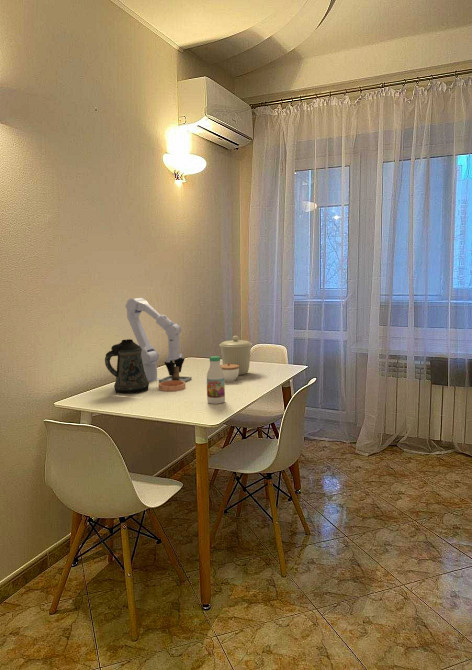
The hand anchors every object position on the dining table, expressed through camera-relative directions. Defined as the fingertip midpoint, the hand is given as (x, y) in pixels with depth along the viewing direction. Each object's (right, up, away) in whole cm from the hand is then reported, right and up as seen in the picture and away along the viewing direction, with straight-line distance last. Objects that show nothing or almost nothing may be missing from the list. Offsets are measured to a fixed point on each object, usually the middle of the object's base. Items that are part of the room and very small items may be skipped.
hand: (175, 373), depth 267 cm
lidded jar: (+28, -4, +2) cm, 28 cm away
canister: (+32, -2, +19) cm, 37 cm away
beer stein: (-20, -8, -18) cm, 28 cm away
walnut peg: (0, -3, 0) cm, 3 cm away
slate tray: (0, -4, +1) cm, 4 cm away
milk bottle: (+23, -9, -41) cm, 48 cm away
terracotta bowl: (0, -6, -15) cm, 16 cm away
